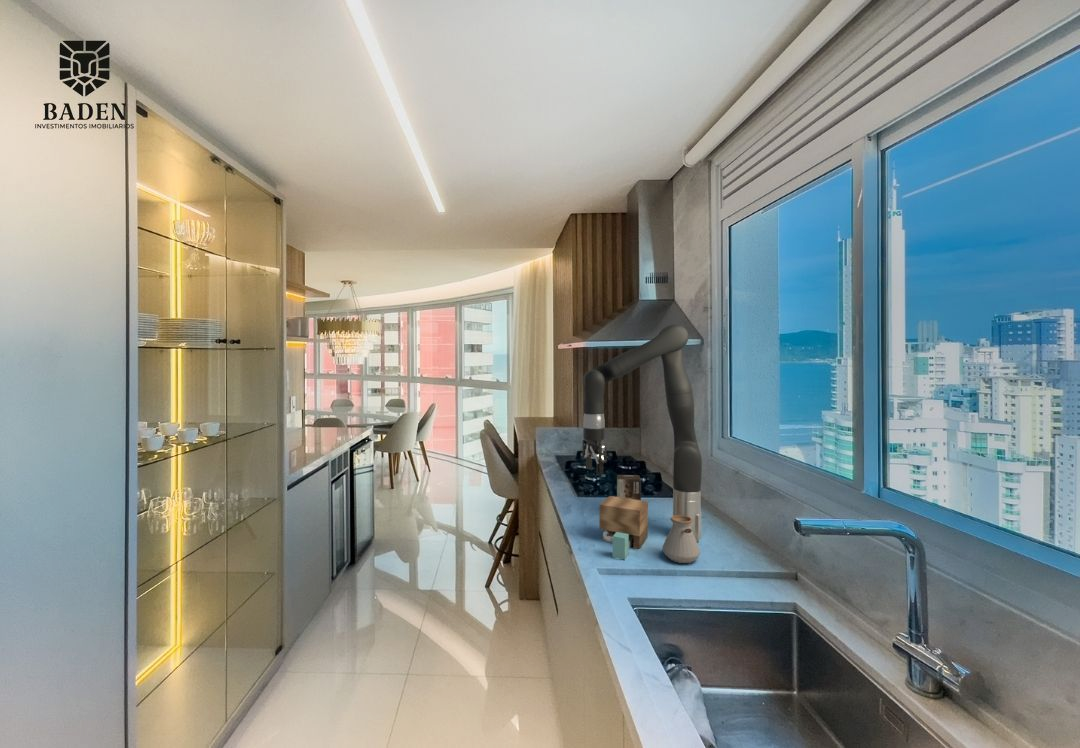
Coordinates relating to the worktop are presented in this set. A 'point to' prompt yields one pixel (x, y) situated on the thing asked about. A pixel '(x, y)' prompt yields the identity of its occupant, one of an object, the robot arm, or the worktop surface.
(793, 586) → the worktop surface
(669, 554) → the coffee pot
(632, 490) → the coffee box
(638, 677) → the worktop surface
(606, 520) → the cabinet
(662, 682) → the worktop surface
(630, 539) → the sage green eraser
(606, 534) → the steel token
